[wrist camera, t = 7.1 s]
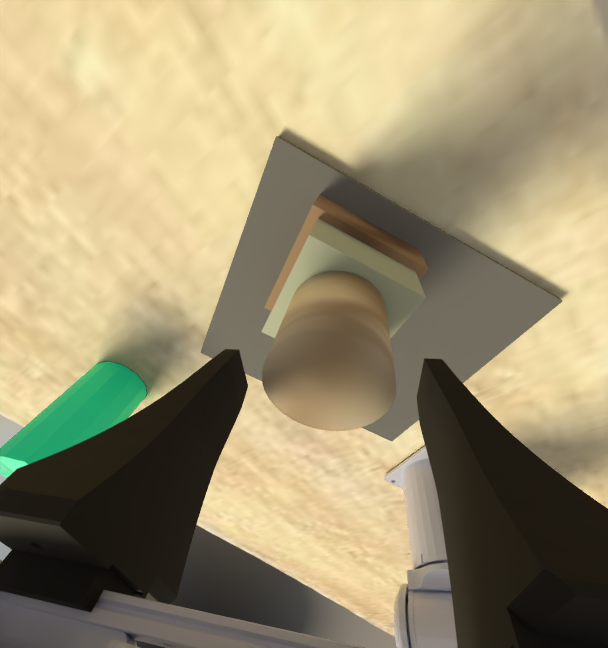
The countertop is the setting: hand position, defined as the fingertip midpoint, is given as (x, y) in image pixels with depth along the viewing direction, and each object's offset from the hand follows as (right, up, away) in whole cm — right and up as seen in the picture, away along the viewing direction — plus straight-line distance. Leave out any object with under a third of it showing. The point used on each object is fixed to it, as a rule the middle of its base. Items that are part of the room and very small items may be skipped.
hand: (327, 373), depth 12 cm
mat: (+3, +2, +11) cm, 11 cm away
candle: (-21, -4, +20) cm, 29 cm away
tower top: (+1, +4, +5) cm, 7 cm away
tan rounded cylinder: (+1, +2, +3) cm, 4 cm away
